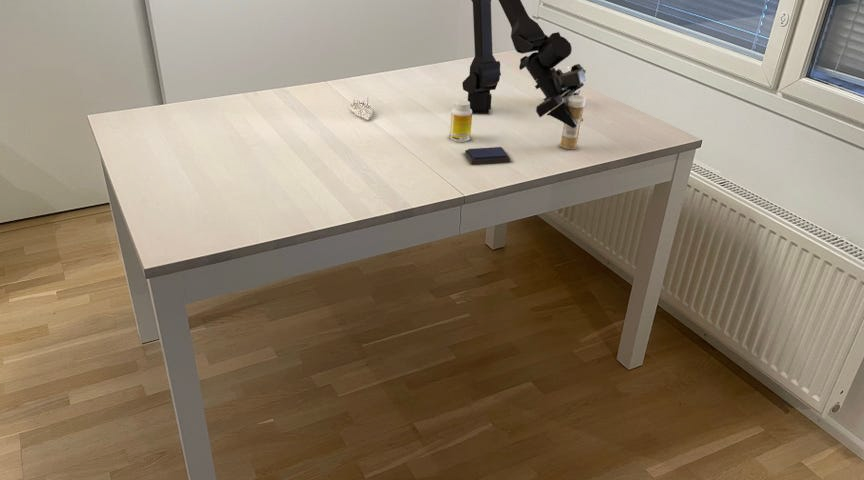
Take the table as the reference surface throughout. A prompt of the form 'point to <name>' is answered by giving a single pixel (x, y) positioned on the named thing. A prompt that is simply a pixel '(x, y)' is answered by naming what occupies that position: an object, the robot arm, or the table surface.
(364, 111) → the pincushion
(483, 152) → the ink pad
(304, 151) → the table surface
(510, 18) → the robot arm
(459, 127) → the supplement bottle
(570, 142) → the sprinkles bottle
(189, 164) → the table surface
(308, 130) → the table surface
